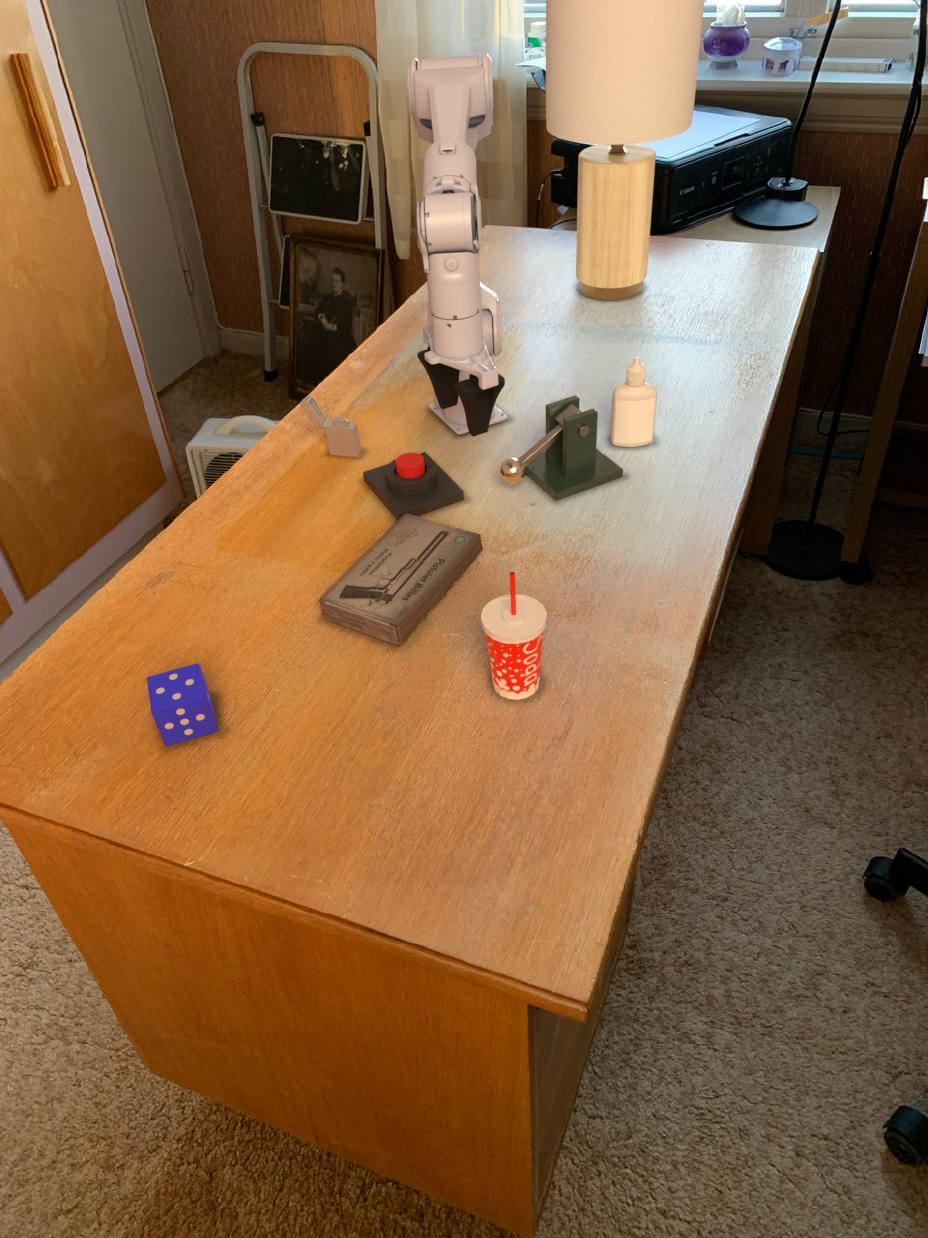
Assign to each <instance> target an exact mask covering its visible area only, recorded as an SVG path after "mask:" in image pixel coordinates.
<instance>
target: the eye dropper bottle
mask: <svg viewBox="0 0 928 1238" xmlns="http://www.w3.org/2000/svg"><path fill="white" fill-rule="evenodd" d="M625 373H626V376H625V382H623V383H620V384H618V385H617V386H615V387H614V388H613V389H612V397H611V411H610V412H611V415H610V430H609V431H610V432H609V437H610V441H611V444H612V445H613V446H615V447H621V448H636V447H637V448H638V447H643V446H647V445H650V444H652V443H653V441H654V436H655V423H656V411H657V401H658V400H657V398H658V393H657V389H656V387H655V385H654V384H652V383H650V382H647V381H646V375H647V367H646V366H645V365H644V364H642V363H641V357H640V356H634V357H633V361H632V364H629V365H628V366H627V367H626V372H625Z"/></svg>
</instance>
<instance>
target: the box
mask: <svg viewBox="0 0 928 1238" xmlns="http://www.w3.org/2000/svg"><path fill="white" fill-rule="evenodd" d="M481 552H484V548H483V544H482V537H481V534H480V533H477V532H475V531H471V530H465V529H462V528H460V527H455V526H451V525H449V524H445V523H441V522H437V521H434V520H430V519H428V518H424V517H421V516H414V515H411V514H407V513H406V514H404V515H403V516H402V517H401V518H400V519H399V520H396V521H395V523H394V524H392V526H391V527H390V528H389V529H388V530H387V531H386V532H385V533H384V534H383V535H382V536H380V538H378V540H377V541H376V542H374V544H373V545H372V546H371V547H370V548H369V549H368V550H366V551H365V552H364V553H363V555H361V556H360V558H358V559H357V561H355V563H353V565H351V567H349V568H348V570H347V571H345V572H344V573H343V575H342V576H341V577H339V579H338V580H337V581H336V582H335V583H333V585H331V587H330V588H328V589H327V590H326V592H324V593H323V594H322V596H320V597H319V599H318V600H317V601H318V603H319V606H318V607H319V608H320V609H321V613H322V616H323V619H324V620H326V621H329V622H332V623H335V624H336V625H339V626H342V627H346V628H348V629H351V630H353V631H356V632H359V633H362V634H364V635H367V636H369V637H373V638H376V639H378V640H380V641H383V642H386V643H389V644H393V645H396V646H399V647H400V646H401V645H402V644H403V643H404V642H405V641H407V639H408V638H409V637H410V636H411V634H412V633H413V631H415V629H417V627H418V624H419V623H421V622H422V621H424V620H425V618H426V615H427V613H429V612H430V611H431V610H432V609H433V608H434V607H435V606H436V605H438V604H440V602H441V599H444V597H445V595H447V592H448V591H449V590H450V589H451V588H452V586H453V585H454V584H455V583H457V581H459V579H460V578H461V576H463V574H464V573H465V572H466V571H467V569H468V568H469V567H470V566H471V565H472V563H473V562H474V561H476V558H478V556H479V555H480V554H481Z"/></svg>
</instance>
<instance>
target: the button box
mask: <svg viewBox="0 0 928 1238" xmlns="http://www.w3.org/2000/svg"><path fill="white" fill-rule="evenodd" d="M419 454H421V455H422V456H423V457H424V464H425V473H424V474H423V475H422V476H419V477H416V478H402V477H399V476H398V475H397V471H396V463H395V460H396V458H395V459H393V460H391V462H389V463H386V464H384V465H380V466H378V467H373V468H371V469H368V470H365V471H363V472H362V475H363V481H364V482H365V483H366V485H367V486H368V487H369V488H370V489H371V490H372V492H373V493H374V494H375V495H376V497H377V498H378V499H379V500H380V501H381V503H382V504H383V505H384V506H385V507H386V508H387V510H388V511H389V513H391V515H392V516H393V517H394V518H395V519H396V521H398V520H399V519H400V518H401V517H402V516H403V515H404V514H406V513H407V514H411V515H414V516H418V517H421V516H422V515H425V514H428V513H431V512H433V511H436V510H440V509H442V508H445V507H448V506H451V505H453V504H456V503H460V502H462V501H464V500H465V496H464V495H465V494H464V490H463V489H462V488H461V486H460V485H458V484H457V482H455V481H454V480H453V479H452V477H450V476H449V475H448V474H447V472H446V471H445V470H443V469H442V467H441V466H440V465H438V463H436V462H435V460H434V459H433V458H432V457H431V456H430V455H429V454H428V453H427V452H426V451H423V452H419Z"/></svg>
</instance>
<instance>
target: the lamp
mask: <svg viewBox="0 0 928 1238" xmlns="http://www.w3.org/2000/svg"><path fill="white" fill-rule="evenodd" d="M704 7H705V0H546V1H545V122H546V125H545V126H546V131H547V132H548V133H549V135H551V136H554V137H556V138H558V139H561V140H565V141H569V142H574V143H579V144H588V145H592V146H589V147H586V148H584V149H582V150H581V151H580V152H579V153H578V156H577V157H578V159H577V161H578V163H577V171H578V172H577V203H576V204H577V205H576V206H577V208H576V252H575V253H576V254H575V256H576V257H575V277H576V279H577V280H578V290H579V292H580V293H581V294H582V295H583V296H585V297H587V298H589V299H593V300H599V301H621V300H625V299H630V298H633V297H635V296H637V295H638V294H640V292H642V290H643V286H644V280H645V279H646V278H647V276H648V266H649V265H648V263H649V252H650V251H649V250H650V238H651V237H650V236H651V224H652V212H653V211H652V210H653V197H654V184H655V172H656V171H655V169H656V158H657V157H656V156H657V154H656V151H655V150H654V149H653V148H652V147H650V146H649V145H648V146H647V145H645V144H644V143H649V142H650V143H651V142H656V141H660V140H666V139H669V138H673V137H676V136H677V135H680V134H682V133H684V132H686V131H688V130H689V129H690V128H691V127H692V124H693V117H694V109H695V100H696V91H697V90H696V89H697V82H698V70H699V61H700V52H701V51H700V50H701V39H702V28H703V18H704V17H703V16H704ZM642 143H643V144H642Z"/></svg>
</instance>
